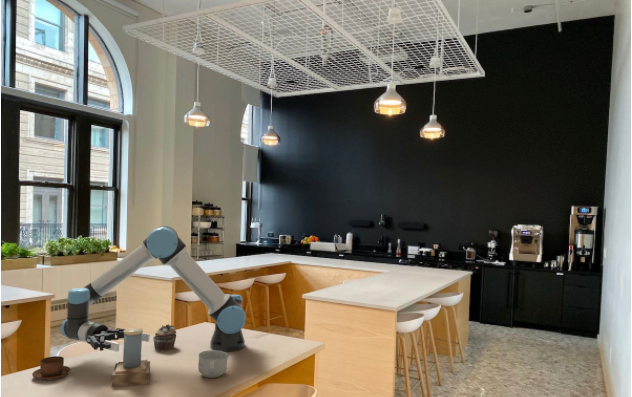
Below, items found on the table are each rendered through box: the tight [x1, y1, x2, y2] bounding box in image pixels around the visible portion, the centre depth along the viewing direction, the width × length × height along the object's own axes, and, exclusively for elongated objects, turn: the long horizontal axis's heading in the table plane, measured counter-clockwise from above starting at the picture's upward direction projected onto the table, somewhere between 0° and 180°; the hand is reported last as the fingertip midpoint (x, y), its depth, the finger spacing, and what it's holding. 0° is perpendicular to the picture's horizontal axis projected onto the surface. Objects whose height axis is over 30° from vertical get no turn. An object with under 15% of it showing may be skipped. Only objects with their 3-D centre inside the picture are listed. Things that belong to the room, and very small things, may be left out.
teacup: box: [197, 349, 229, 379], centre depth 170 cm, size 14×11×8 cm
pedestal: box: [110, 359, 151, 388], centre depth 166 cm, size 12×12×5 cm
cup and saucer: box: [31, 355, 71, 381], centre depth 166 cm, size 12×12×6 cm
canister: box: [122, 327, 144, 368], centre depth 166 cm, size 6×6×13 cm
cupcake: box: [152, 323, 177, 352], centre depth 201 cm, size 10×10×10 cm
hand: (134, 342), depth 165 cm, fingers open, 13 cm apart
